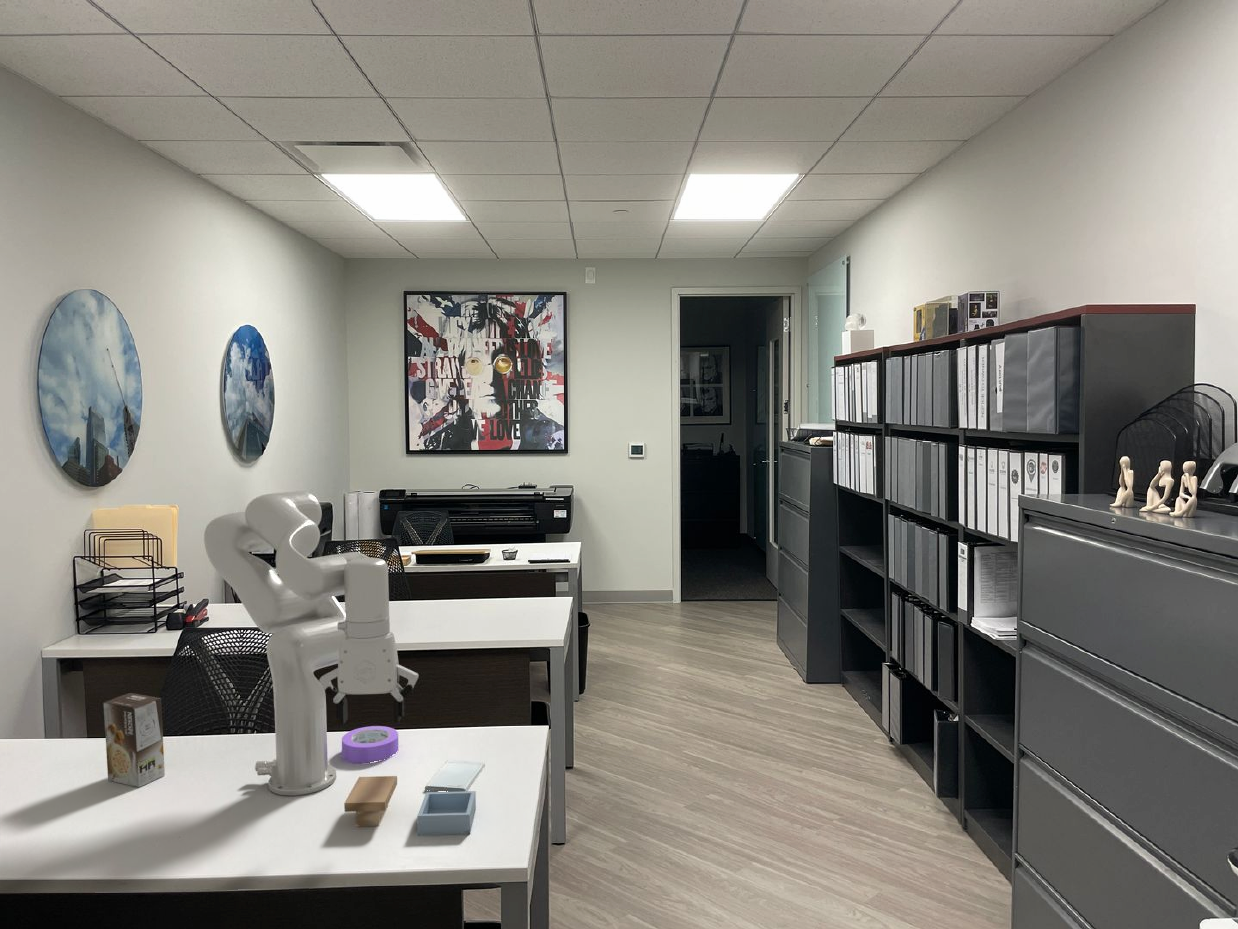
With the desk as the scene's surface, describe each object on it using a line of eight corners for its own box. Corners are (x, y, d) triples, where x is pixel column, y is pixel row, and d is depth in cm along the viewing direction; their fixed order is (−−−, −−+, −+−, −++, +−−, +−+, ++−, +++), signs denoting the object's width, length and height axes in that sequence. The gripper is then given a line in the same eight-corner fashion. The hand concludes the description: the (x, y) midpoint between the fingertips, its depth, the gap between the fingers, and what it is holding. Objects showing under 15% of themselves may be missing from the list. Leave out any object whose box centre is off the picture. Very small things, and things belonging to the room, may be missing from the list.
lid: (344, 812, 151) (344, 803, 151) (359, 785, 161) (359, 777, 161) (385, 810, 151) (384, 802, 151) (397, 784, 161) (397, 776, 161)
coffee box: (166, 775, 174) (163, 697, 173) (138, 788, 168) (134, 708, 167) (134, 768, 177) (130, 691, 176) (105, 780, 171) (101, 702, 170)
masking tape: (407, 744, 190) (407, 727, 189) (384, 766, 178) (383, 748, 178) (357, 741, 192) (357, 724, 191) (331, 762, 180) (331, 745, 180)
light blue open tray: (417, 835, 149) (417, 816, 149) (426, 811, 158) (426, 792, 158) (470, 834, 150) (469, 814, 150) (475, 809, 159) (475, 791, 159)
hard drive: (465, 788, 165) (484, 761, 177) (424, 786, 166) (446, 759, 179) (465, 797, 165) (484, 769, 178) (424, 794, 166) (446, 767, 179)
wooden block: (356, 826, 153) (355, 807, 152) (365, 807, 160) (365, 789, 159) (379, 825, 153) (378, 806, 153) (387, 807, 160) (387, 788, 160)
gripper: (312, 634, 149) (315, 731, 151) (413, 632, 150) (415, 728, 152) (324, 623, 157) (327, 715, 158) (420, 621, 158) (422, 712, 159)
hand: (370, 721), depth 155 cm, fingers open, 9 cm apart
